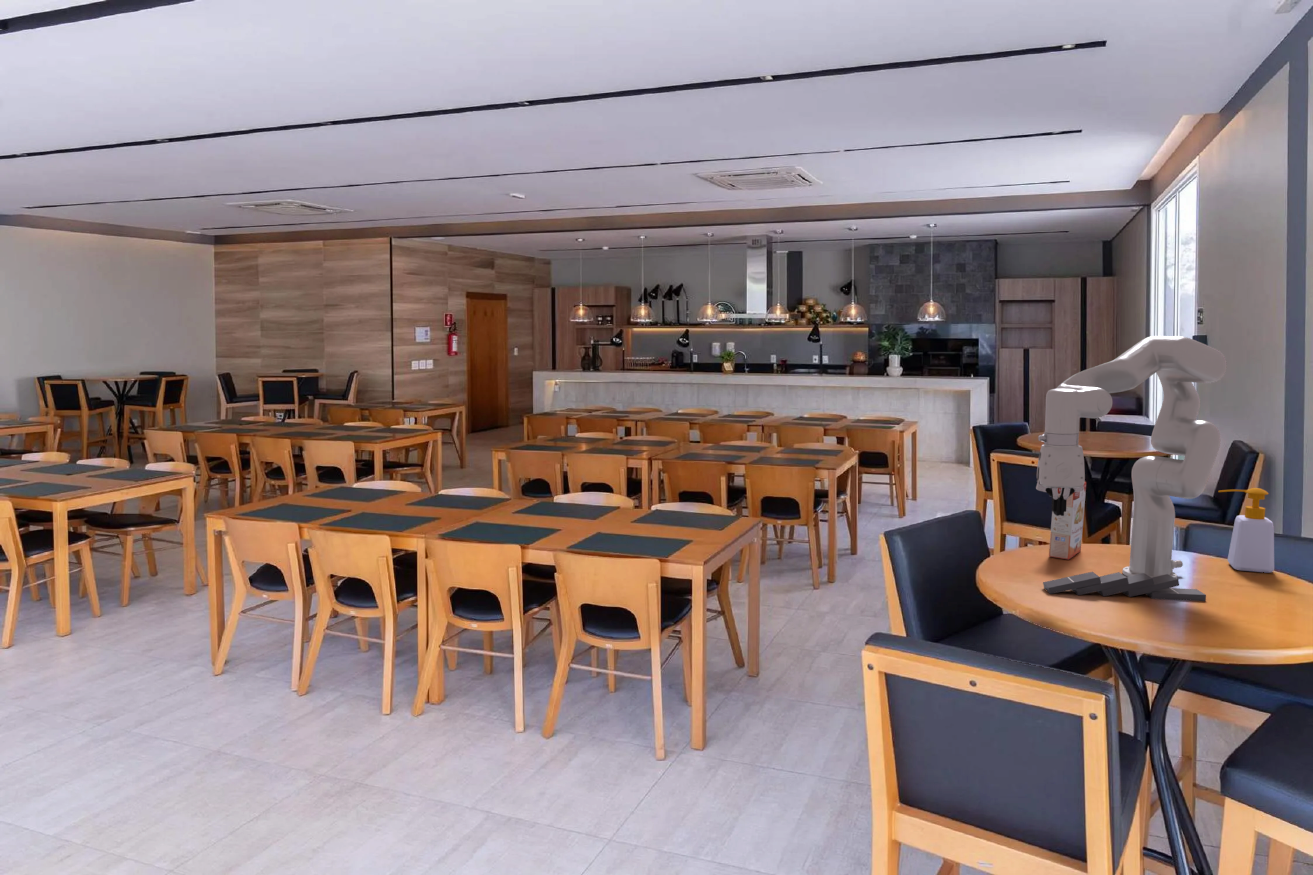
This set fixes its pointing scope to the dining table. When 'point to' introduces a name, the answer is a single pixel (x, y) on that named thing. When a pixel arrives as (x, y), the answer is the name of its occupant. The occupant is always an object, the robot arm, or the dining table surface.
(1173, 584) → the domino
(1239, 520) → the soap bottle
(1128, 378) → the robot arm
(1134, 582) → the domino
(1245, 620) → the dining table surface
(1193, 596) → the domino
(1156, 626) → the dining table surface
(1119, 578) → the domino
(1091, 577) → the domino
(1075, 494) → the cracker box
